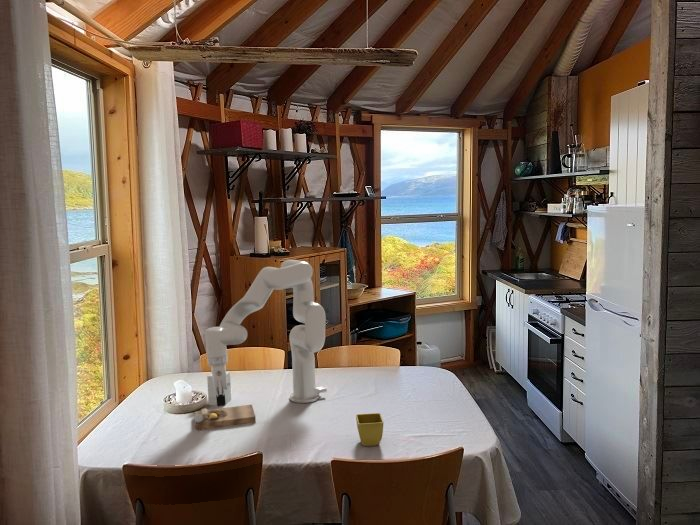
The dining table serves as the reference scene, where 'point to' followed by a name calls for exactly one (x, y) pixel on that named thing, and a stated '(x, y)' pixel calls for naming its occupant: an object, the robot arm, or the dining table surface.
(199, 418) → the grey ball
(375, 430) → the flower pot
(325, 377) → the dining table surface
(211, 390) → the supplement box
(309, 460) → the dining table surface
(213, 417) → the ball
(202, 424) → the board
